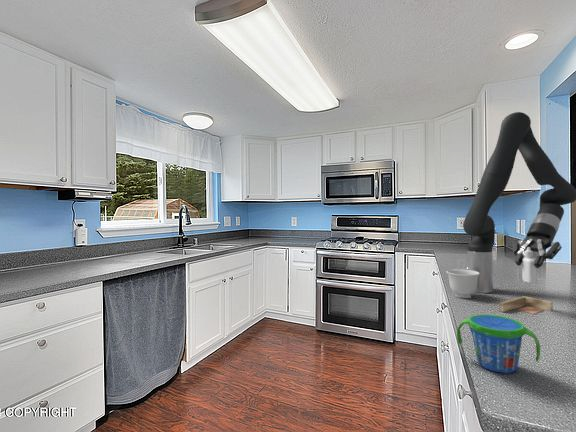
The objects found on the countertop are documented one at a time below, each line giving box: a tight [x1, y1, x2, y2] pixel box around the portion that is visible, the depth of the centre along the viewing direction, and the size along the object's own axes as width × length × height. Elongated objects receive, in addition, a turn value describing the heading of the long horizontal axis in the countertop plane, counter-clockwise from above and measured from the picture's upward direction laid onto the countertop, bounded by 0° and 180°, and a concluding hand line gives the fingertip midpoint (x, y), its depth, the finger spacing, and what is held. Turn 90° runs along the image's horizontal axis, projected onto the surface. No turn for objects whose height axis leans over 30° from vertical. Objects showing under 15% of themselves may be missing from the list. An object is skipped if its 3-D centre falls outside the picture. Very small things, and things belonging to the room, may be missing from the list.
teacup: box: [445, 268, 480, 299], centre depth 125 cm, size 12×15×10 cm
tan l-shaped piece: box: [498, 295, 554, 315], centre depth 104 cm, size 9×16×3 cm, turn 117°
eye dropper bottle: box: [521, 247, 538, 284], centre depth 105 cm, size 4×6×12 cm
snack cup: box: [456, 314, 541, 374], centre depth 69 cm, size 16×10×10 cm
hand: (526, 265), depth 104 cm, fingers closed on eye dropper bottle, 5 cm apart
